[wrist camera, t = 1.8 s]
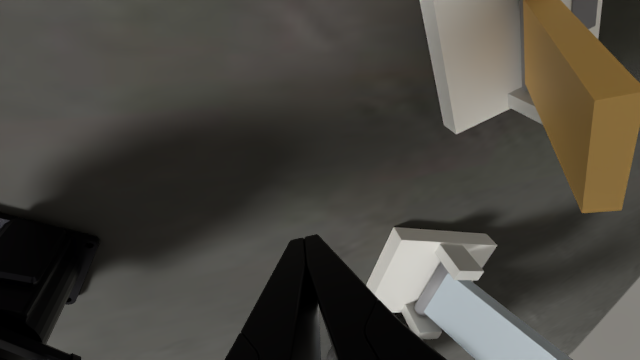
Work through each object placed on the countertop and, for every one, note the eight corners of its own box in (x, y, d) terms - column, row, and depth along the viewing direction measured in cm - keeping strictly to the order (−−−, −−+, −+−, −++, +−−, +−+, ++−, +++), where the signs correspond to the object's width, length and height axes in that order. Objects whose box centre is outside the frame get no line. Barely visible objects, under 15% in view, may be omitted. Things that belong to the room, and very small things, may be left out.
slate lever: (411, 307, 31) (538, 424, 25) (439, 260, 28) (591, 379, 22) (419, 301, 32) (543, 413, 26) (446, 255, 29) (594, 367, 23)
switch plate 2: (443, 124, 24) (484, 155, 20) (417, -9, 19) (465, -2, 15) (574, 62, 23) (640, 81, 20) (585, -92, 18) (677, -106, 14)
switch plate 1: (359, 299, 32) (376, 343, 29) (393, 226, 28) (419, 267, 24) (444, 298, 36) (469, 338, 32) (486, 233, 31) (521, 270, 28)
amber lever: (520, 83, 21) (578, 222, 13) (516, -17, 18) (591, 86, 10) (545, 77, 21) (622, 219, 13) (547, -28, 17) (655, 74, 9)
